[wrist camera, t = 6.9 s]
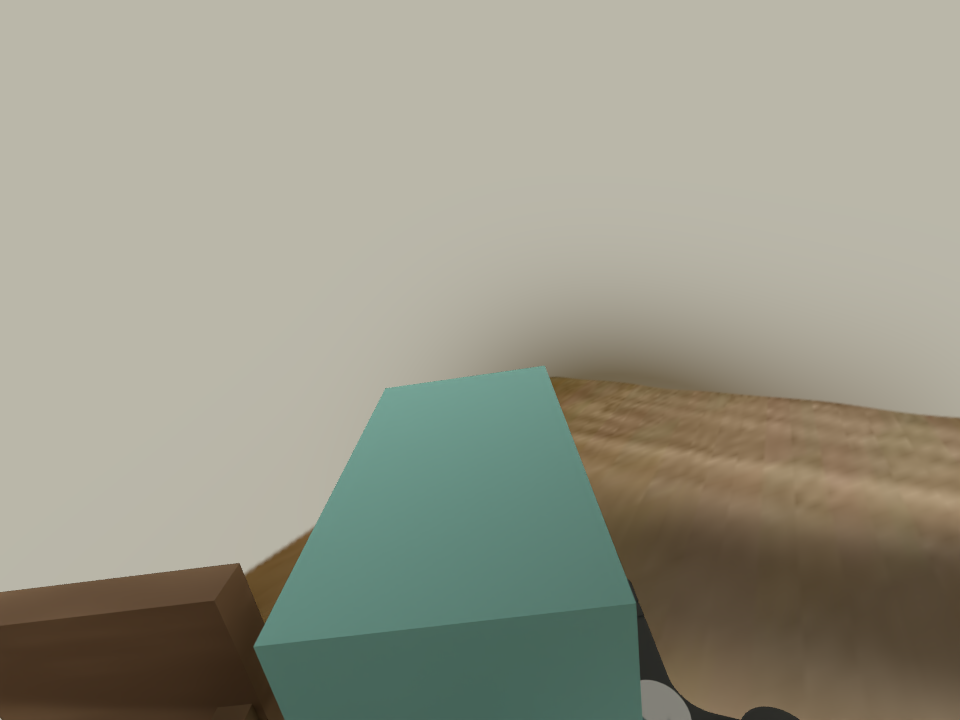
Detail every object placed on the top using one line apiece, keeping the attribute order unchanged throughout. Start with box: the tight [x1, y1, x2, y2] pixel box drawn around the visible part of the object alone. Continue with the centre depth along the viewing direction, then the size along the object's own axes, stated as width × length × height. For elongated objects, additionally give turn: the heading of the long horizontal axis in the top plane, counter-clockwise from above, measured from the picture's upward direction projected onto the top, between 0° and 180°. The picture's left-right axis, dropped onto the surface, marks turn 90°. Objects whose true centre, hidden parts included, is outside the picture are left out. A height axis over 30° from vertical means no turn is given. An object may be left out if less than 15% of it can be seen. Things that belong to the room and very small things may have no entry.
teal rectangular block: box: [253, 366, 642, 720], centre depth 10 cm, size 7×4×14 cm, turn 0°
